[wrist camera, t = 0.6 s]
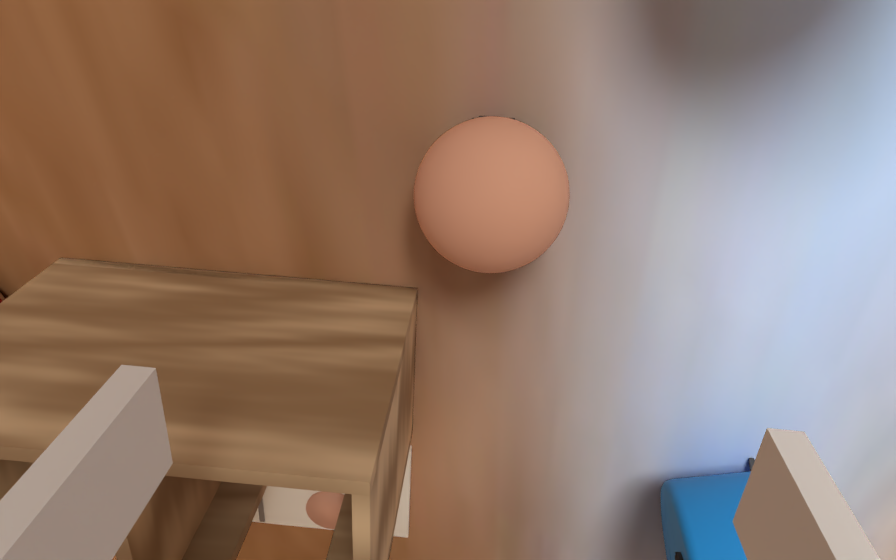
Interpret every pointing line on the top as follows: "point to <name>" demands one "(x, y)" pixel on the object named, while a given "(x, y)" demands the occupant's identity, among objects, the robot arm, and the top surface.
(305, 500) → the card
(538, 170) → the terra ball
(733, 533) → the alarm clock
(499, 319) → the top surface
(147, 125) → the top surface
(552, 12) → the top surface
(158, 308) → the box
